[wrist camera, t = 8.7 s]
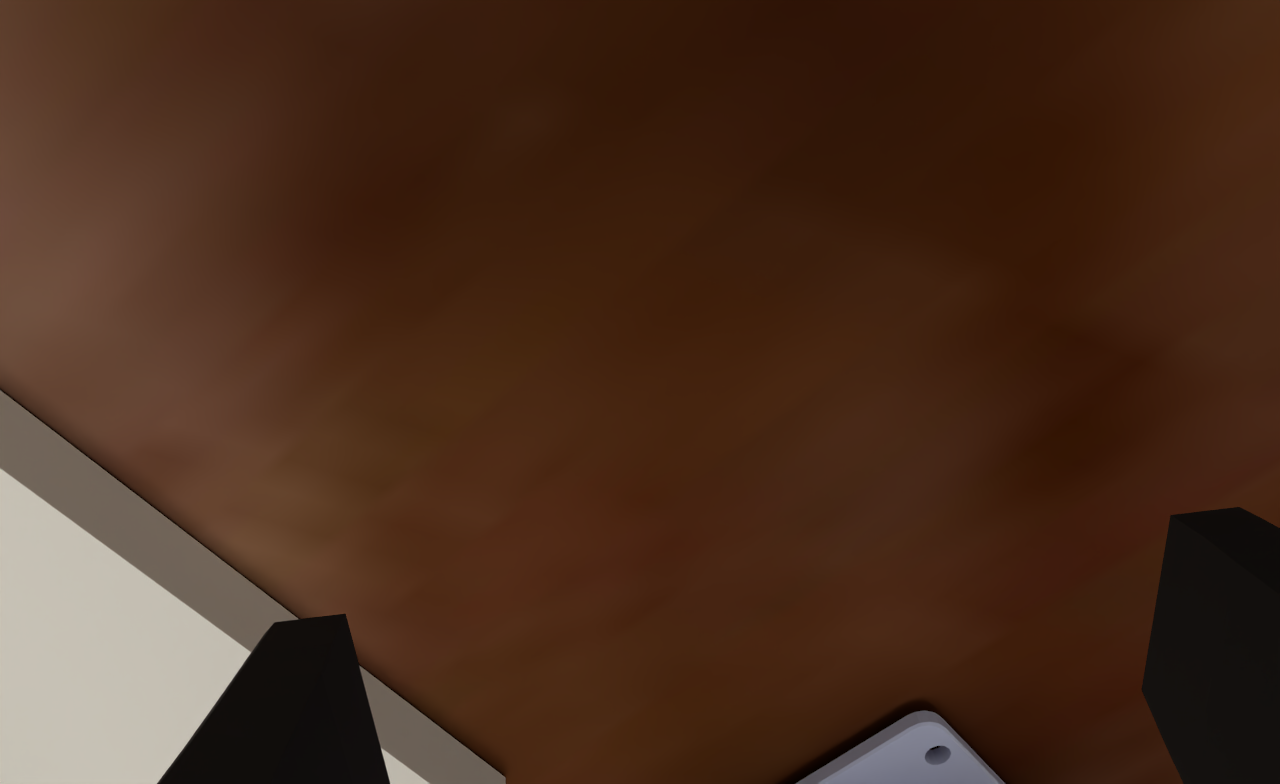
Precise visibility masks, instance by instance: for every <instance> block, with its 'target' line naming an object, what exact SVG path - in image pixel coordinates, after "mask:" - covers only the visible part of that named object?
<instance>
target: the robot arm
mask: <svg viewBox="0 0 1280 784" xmlns="http://www.w3.org/2000/svg"><path fill="white" fill-rule="evenodd" d="M1142 692H1143V694H1144V696H1145V699H1146V701H1147V703H1148V705H1149V708H1150V710H1151V712H1152V715H1153V717H1154V719H1155V722H1156V724H1157V726H1158V729H1159V731H1160V733H1161V735H1162V738H1163V740H1164V742H1165V745H1166V747H1167V749H1168V751H1169V753H1170V755H1171V758H1172V760H1173V762H1174V764H1175V766H1176V768H1177V770H1178V772H1179V774H1180V777H1181V779H1182V781H1183V783H1184V784H1280V528H1278V527H1276V526H1274V525H1273V524H1271V523H1269V522H1267V521H1265V520H1263V519H1262V518H1260V517H1258V516H1256V515H1254V514H1252V513H1250V512H1248V511H1246V510H1244V509H1242V508H1240V507H1235V508H1227V509H1219V510H1210V511H1202V512H1194V513H1185V514H1177V515H1171V516H1170V522H1169V528H1168V534H1167V540H1166V546H1165V552H1164V558H1163V564H1162V571H1161V577H1160V583H1159V589H1158V595H1157V601H1156V607H1155V613H1154V619H1153V625H1152V631H1151V637H1150V643H1149V649H1148V655H1147V661H1146V667H1145V673H1144V679H1143V685H1142ZM936 746H940V747H939V748H936V749H934V750H929V749H930V748H933V747H936ZM157 784H390V780H389V777H388V773H387V769H386V765H385V761H384V758H383V754H382V750H381V746H380V743H379V739H378V735H377V731H376V727H375V724H374V720H373V716H372V712H371V708H370V705H369V701H368V697H367V693H366V690H365V686H364V682H363V678H362V674H361V671H360V667H359V663H358V659H357V655H356V652H355V648H354V644H353V640H352V637H351V633H350V629H349V625H348V621H347V618H346V614H339V615H331V616H323V617H314V618H306V619H297V620H289V621H281V622H274V623H273V625H272V626H271V627H270V628H269V629H268V630H267V632H266V633H265V634H264V635H263V637H262V638H261V639H260V641H259V642H258V644H257V645H256V646H255V648H254V649H253V651H252V652H251V653H250V655H249V656H248V658H247V659H246V661H245V662H244V663H243V665H242V666H241V668H240V669H239V671H238V672H237V674H236V675H235V676H234V678H233V679H232V681H231V682H230V684H229V685H228V686H227V688H226V689H225V691H224V692H223V694H222V695H221V696H220V698H219V699H218V701H217V702H216V704H215V705H214V706H213V708H212V709H211V711H210V712H209V713H208V715H207V716H206V718H205V719H204V720H203V722H202V723H201V725H200V726H199V727H198V729H197V730H196V732H195V733H194V734H193V736H192V737H191V739H190V740H189V741H188V743H187V744H186V745H185V747H184V748H183V750H182V751H181V752H180V754H179V755H178V756H177V758H176V759H175V760H174V762H173V763H172V764H171V766H170V767H169V768H168V770H167V771H166V772H165V774H164V775H163V776H162V778H161V779H160V780H159V782H158V783H157ZM795 784H1005V783H1004V782H1003V781H1002V780H1001V779H1000V777H999V776H998V775H997V774H996V773H995V772H994V771H993V770H992V769H991V768H990V767H989V766H988V765H987V764H986V763H985V762H984V761H983V760H982V759H981V758H980V757H979V756H978V755H977V754H976V753H975V752H974V750H973V749H972V748H971V747H970V746H969V745H968V744H967V743H966V742H965V741H964V740H963V739H962V738H961V737H960V736H959V735H958V734H957V733H956V732H955V731H954V730H953V729H952V728H951V727H950V726H949V725H948V724H947V722H946V721H945V720H944V719H943V718H942V717H941V716H939V715H938V714H936V713H935V712H930V711H917V712H913V713H911V714H909V715H907V716H905V717H903V718H902V719H900V720H898V721H897V722H895V723H893V724H892V725H890V726H889V727H887V728H885V729H884V730H882V731H880V732H879V733H877V734H875V735H874V736H872V737H871V738H869V739H867V740H866V741H864V742H862V743H861V744H859V745H857V746H856V747H854V748H853V749H851V750H849V751H848V752H846V753H844V754H843V755H841V756H840V757H838V758H836V759H835V760H833V761H831V762H830V763H828V764H826V765H825V766H823V767H822V768H820V769H818V770H817V771H815V772H813V773H812V774H810V775H808V776H807V777H805V778H804V779H802V780H800V781H799V782H797V783H795Z"/></svg>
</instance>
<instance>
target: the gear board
mask: <svg viewBox="0 0 1280 784" xmlns="http://www.w3.org/2000/svg"><path fill="white" fill-rule="evenodd" d="M297 619H298V618H297V617H295V616H294V615H293V614H292V613H290V612H289V611H288V610H286V609H285V608H284V607H282V606H281V605H280V604H278V603H277V602H276V601H275V600H273V599H272V598H271V597H269V596H268V595H267V594H265V593H264V592H263V591H262V590H260V589H259V588H258V587H256V586H255V585H254V584H252V583H251V582H250V581H248V580H247V579H246V578H245V577H243V576H242V575H241V574H239V573H238V572H237V571H235V570H234V569H233V568H232V567H230V566H229V565H228V564H226V563H225V562H224V561H222V560H221V559H220V558H218V557H217V556H216V555H215V554H213V553H212V552H211V551H209V550H208V549H207V548H205V547H204V546H203V545H202V544H200V543H199V542H198V541H196V540H195V539H194V538H192V537H191V536H190V535H188V534H187V533H186V532H185V531H183V530H182V529H181V528H179V527H178V526H177V525H175V524H174V523H173V522H171V521H170V520H169V519H168V518H166V517H165V516H164V515H162V514H161V513H160V512H158V511H157V510H156V509H155V508H153V507H152V506H151V505H149V504H148V503H147V502H145V501H144V500H143V499H141V498H140V497H139V496H138V495H136V494H135V493H134V492H132V491H131V490H130V489H128V488H127V487H126V486H125V485H123V484H122V483H121V482H119V481H118V480H117V479H115V478H114V477H113V476H111V475H110V474H109V473H108V472H106V471H105V470H104V469H102V468H101V467H100V466H98V465H97V464H96V463H95V462H93V461H92V460H91V459H89V458H88V457H87V456H85V455H84V454H83V453H81V452H80V451H79V450H78V449H76V448H75V447H74V446H72V445H71V444H70V443H68V442H67V441H66V440H65V439H63V438H62V437H61V436H59V435H58V434H57V433H55V432H54V431H53V430H51V429H50V428H49V427H48V426H46V425H45V424H44V423H42V422H41V421H40V420H38V419H37V418H36V417H35V416H33V415H32V414H31V413H29V412H28V411H27V410H25V409H24V408H23V407H21V406H20V405H19V404H18V403H16V402H15V401H14V400H12V399H11V398H10V397H8V396H7V395H6V394H4V393H3V392H2V391H1V390H0V784H157V783H158V782H159V780H160V779H161V778H162V776H163V775H164V774H165V772H166V771H167V770H168V768H169V767H170V766H171V764H172V763H173V762H174V760H175V759H176V758H177V756H178V755H179V754H180V752H181V751H182V750H183V748H184V747H185V745H186V744H187V743H188V741H189V740H190V739H191V737H192V736H193V734H194V733H195V732H196V730H197V729H198V727H199V726H200V725H201V723H202V722H203V720H204V719H205V718H206V716H207V715H208V713H209V712H210V711H211V709H212V708H213V706H214V705H215V704H216V702H217V701H218V699H219V698H220V696H221V695H222V694H223V692H224V691H225V689H226V688H227V686H228V685H229V684H230V682H231V681H232V679H233V678H234V676H235V675H236V674H237V672H238V671H239V669H240V668H241V666H242V665H243V663H244V662H245V661H246V659H247V658H248V656H249V655H250V653H251V652H252V651H253V649H254V648H255V646H256V645H257V644H258V642H259V641H260V639H261V638H262V637H263V635H264V634H265V633H266V632H267V630H268V629H269V628H270V627H271V626H272V625H273V623H274V622H281V621H289V620H297ZM359 667H360V671H361V674H362V678H363V682H364V686H365V690H366V693H367V697H368V701H369V705H370V708H371V712H372V716H373V720H374V724H375V727H376V731H377V735H378V739H379V743H380V746H381V750H382V754H383V758H384V761H385V765H386V769H387V773H388V777H389V780H390V784H506V778H505V777H504V776H503V775H502V774H500V773H499V772H498V771H496V770H495V769H494V768H492V767H491V766H490V765H489V764H487V763H486V762H485V761H483V760H482V759H481V758H479V757H478V756H477V755H475V754H474V753H473V752H472V751H470V750H469V749H468V748H466V747H465V746H464V745H462V744H461V743H460V742H459V741H457V740H456V739H455V738H453V737H452V736H451V735H449V734H448V733H447V732H445V731H444V730H443V729H442V728H440V727H439V726H438V725H436V724H435V723H434V722H432V721H431V720H430V719H429V718H427V717H426V716H425V715H423V714H422V713H421V712H419V711H418V710H417V709H415V708H414V707H413V706H412V705H410V704H409V703H408V702H406V701H405V700H404V699H402V698H401V697H400V696H399V695H397V694H396V693H395V692H393V691H392V690H391V689H389V688H388V687H387V686H385V685H384V684H383V683H382V682H380V681H379V680H378V679H376V678H375V677H374V676H372V675H371V674H370V673H369V672H367V671H366V670H365V669H363V668H362V667H361V666H359Z"/></svg>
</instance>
